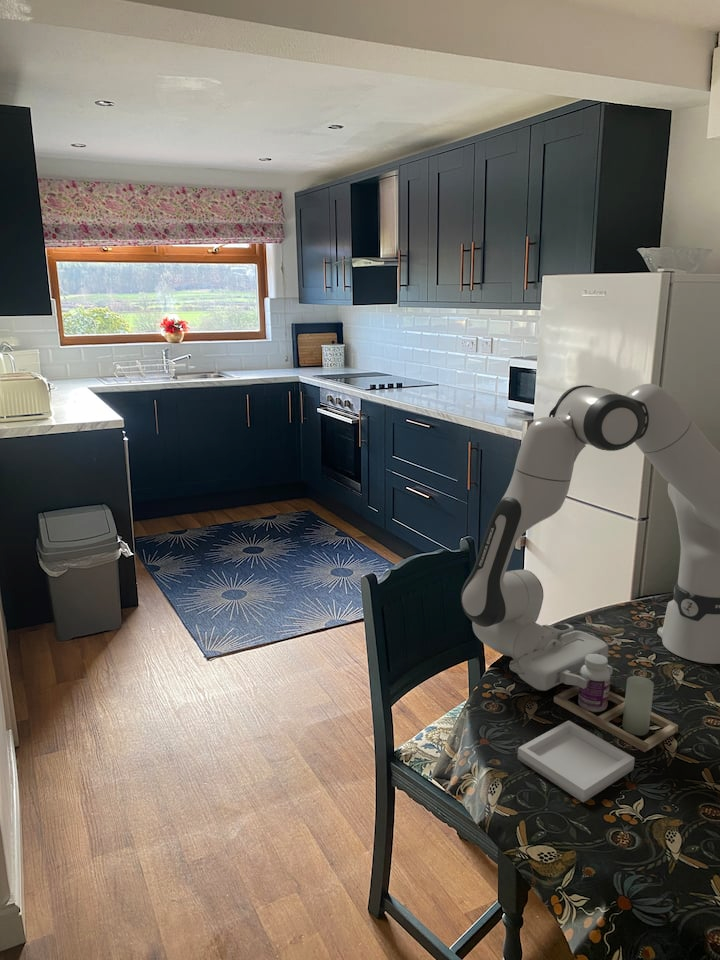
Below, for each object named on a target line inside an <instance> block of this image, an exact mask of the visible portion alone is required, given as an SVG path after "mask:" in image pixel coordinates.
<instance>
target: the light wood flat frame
mask: <svg viewBox="0 0 720 960" xmlns="http://www.w3.org/2000/svg"><path fill="white" fill-rule="evenodd" d="M578 694H579V686H575V685H573V686H572V687H570V688H568V689H566V690H564V691H562V692H560V693H558V694H556V695H554V696H553V702H554V704H556V705H559V706H560V707H562V708H563V709H565V710H568V711H569V712H571V713H573V714H575V715H576V716H578V717H581V718H582V719H584V720H585V721H586V722H589V723H590V724H593V725H594V726H596V727H598V728H600V729H602V730H603V731H606V733H609V734H611V735H613V736H614V737H616V738H618V739H619V740H622V741H623V742H625V743H626V744H629V745H631V746H633V747H635V748H636V749H638V750H640V751H641V752H644V753H647V751H650V750H651V749H652V748H654V747H656V746H657V745H659V744H661V742H663V741H665V740H667V739H668V738H669V737H671V736H672V735H675V733H678V729H679V724H676V723H675V722H672V721H671V720H669V719H666V718H664V717H662V716H660V715H658V714H656V713H655V712H653V711H651V716H650V722H652V723H654V724H656V725H657V726H659V727H661V728H662V729H660V730H658V731H657V732H656V733H654V734H653V735H650V736H649V737H648V738H646V739H645V740H643V739H640V738H638V736H637V737H636V735H634V734H631V733H628V732H627V731H625V730H624V729H623V728H620V727H619V726H616V725H614V724H613V723H611V722H610V721H612V720H614V719H615V718H616V719H617V717H619V716H621V715H623V714H624V704H625V697H623V696H621V695H619V694H617V693H614V691H613V692H612V691H610V690H609V695H608V701H610V702H612V703H614V704H617V705H616V706H615V707H613V708H611V709H609V710H608V711H606V712H603V713H602V714H600V715H596V714H594V713H593V712H591V711H588V710H585V709H583V708H582V707H581V706H580V705H579V704H578V705H577V704H576V703H574V702H572V701H570V699H571V698H574V697H576V696H578Z"/></svg>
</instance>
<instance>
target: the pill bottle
mask: <svg viewBox="0 0 720 960" xmlns="http://www.w3.org/2000/svg"><path fill="white" fill-rule="evenodd" d="M608 663H609V661H608V658H606V657H604V656H602V655H599V654H588V655H586V657H585V665H583V666H582V668H581V670H580V674H579V676H580V675H582V674H583V675H585V676H586V677H589V678H590V686H588V687H587V688H585V689H583V688H581V687H579V694H577V703H578V706H580V707H581V708H583V709H585V710H587V711H589V712H591V713H601V712H604V711H605V710H606V709H607V707H608V702H609V700H608V695H609V691H610V685H611V675H610V671H609V670H608V669H607V666H608V665H609V664H608Z"/></svg>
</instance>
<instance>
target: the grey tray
mask: <svg viewBox="0 0 720 960" xmlns="http://www.w3.org/2000/svg"><path fill="white" fill-rule="evenodd" d="M635 759H636V758H635V756H632V755H631V754H629V753H628V752H626V751H623V750H622V749H620V748H618V747H616V746H614V745H613V744H611V743H609V742H608V741H606V740H604V739H602V738H601V737H599V736H597V735H595V734H594V733H592V732H590V731H589V730H586V729H584V728H583V727H581V726H580V725H578V724H576V723H574V722H572V721H571V720H567V721H565V722H563V723H561V724H558V725H557V726H556V727H554V728H551V729H550V730H548V731H546V732H545V733H543V734H541V735H539V736H537V737H535V738H534V739H532V740H530V741H528V742H526V743H524V744H522V745H521V746H519V747H518V749H517V760H518V761H520V762H521V763H522V764H524V765H525V766H527V767H529V768H530V769H532V770H533V771H535V772H536V773H538V774H539V775H541V776H542V777H543V778H545V779H547V780H548V781H550V782H551V783H553V784H554V785H556V786H558V788H560V789H561V790H563V791H565V792H567V793H568V794H569V795H570V796H573V798H576V799H577V800H579V801H580V802H582V803H583V804H584V803H585V802H586V801H588V800H590V799H591V798H592V797H594V796H596V795H597V794H599V793H600V792H602V791H603V790H605V789H606V788H607V787H609V786H611V785H613V784H615V782H617V781H619V780H620V779H622V778H623V777H624V776H626V775H628V774H629V773H630V772H632V771H634V769H635V768H634V767H635Z"/></svg>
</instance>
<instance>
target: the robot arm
mask: <svg viewBox="0 0 720 960" xmlns="http://www.w3.org/2000/svg"><path fill="white" fill-rule="evenodd" d="M634 443H635V445H636V446H637V447H638V448H639V449H640V451H641V452H642V454H643V455H644V456H645V457H646V459H647V460H648V461H649V462H650V464H651V465H652V466H653V467H654V468H655V470H656V472H658V473H659V475H660V476H661V477H662V478H663V479H664V480H665V481H666V482H667V483H668V484H667V494H668V498H669V499H670V501H671V504H672V505H673V510H674V511H675V515H676V522H677V526H678V534H679V542H680V543H679V545H680V555H679V556H680V557H679V568H678V577H677V581H675V584H674V588H673V599H672V600H670V601H668V603H667V606H666V611H665V616H664V621H663V626H661V627H658V628H657V632H656V633H657V635H658V636H659V637H660V638H661V640H662V641H661V642H662V645H663V646H664V648H665V649H667V650H668V651H669V652H671V653H672V654H674V655H676V656H679V657H681V658H683V659H686V660H689V661H693V662H697V663H703V664H712V665H713V664H714V665H715V664H716V665H717V664H719V665H720V451H719V450H718V449H717V448H716V447H715V446H714V444H712V443H711V441H710V440H709V439H708V438H707V437H706V435H705V434H704V433H703V431H702V430H701V429H700V428H699V426H698V425H697V424H696V423H695V420H693V418H692V417H691V416H690V415H689V413H688V412H687V411H686V410H685V409H684V407H683V406H682V405H681V404H680V403H679V402H678V401H677V400H676V399H675V398H674V397H673V396H672V395H671V394H670V393H668V391H666V390H665V389H664V388H663V387H661V386H659V385H658V384H654V383H642V384H641V385H638V386H635V387H634V388H632V389H630V390H629V391H628V392H627V393H626V394H624V395H623V394H621V393H618V392H615V391H612V390H610V389H606V388H603V387H602V388H601V387H595V386H593V385H587V384H584V385H583V384H582V385H576V386H573V387H571V388H569V389H567V390H566V391H565V392H564V393H563V394H562V395H561V396H560V397H559V399H558V400H557V401H556V403H555V406H554V407H553V408H552V409H551V410H550V412H549V414H548V416H544V417H540V418H539V417H538V418H537V419H535V420H533V421H532V422H531V423H530V424H529V425H528V428H527V430H526V431H525V433H524V436H523V438H522V441H521V443H520V447H519V450H518V453H517V457H516V460H515V465H514V469H513V473H512V476H511V478H510V482H509V485H508V487H507V489H506V490H505V493H504V495H503V496H502V498H501V500H500V501H499V502H498V503H497V504H496V505H495V508H494V510H493V513H492V514H491V517H490V520H489V522H488V525H487V528H486V531H485V533H484V536H483V540H482V542H481V545H480V548H479V551H478V554H477V557H476V560H475V562H474V565H473V568H472V570H471V572H470V574H469V575H468V577H467V578H466V580H465V581H464V584H463V586H462V589H461V592H460V603H461V607H462V610H463V612H464V614H465V615H466V617H468V619H469V620H470V621H471V623H472V624H471V625H472V631H473V633H474V635H475V636H476V637H477V638H478V639H479V641H480V642H482V643H483V645H485V646H486V647H489V648H490V649H492V650H493V651H495V652H497V653H499V654H500V655H503V656H505V657H510V658H512V659H511V660H510V661H509V665H508V666H509V670H511V671H512V672H514V673H516V674H517V675H518V677H519V678H520V679H521V680H523V681H524V682H525V683H526V684H528V685H529V686H531V687H532V688H534V689H536V691H543V692H545V691H549V690H550V689H552V688H554V687H556V686H559V685H560V684H565V685H568V686H569V685H570V686H579V687H581V688H583V689H585V688H587V687H588V686H590V678H589V677H586V676H585V675H583V674H582V675H580V670H581V668H582V666H583V665H585V657H586V655H588V654H599V655H602V656H604V657H606V658H607V659H608V656H609V646H608V644H607V642H605V641H604V640H603V639H601V638H598V637H596V636H594V635H592V634H590V633H588V632H587V633H586V632H585V631H581V630H575V627H574V626H573V625H571V624H569V623H561V624H551V625H550V624H542V625H541V624H539V623H537V621H538V618H539V617H540V612H541V610H542V606H543V600H544V588H543V585H542V582H541V581H540V579H539V578H538V577H537V575H536V574H534V573H533V572H532V571H530V570H527V569H523V568H521V569H515V570H507V569H508V566H509V563H510V560H511V556H512V554H513V551H514V549H515V546H516V544H517V542H518V540H519V539H520V538H521V537H522V535H523V534H525V533H526V532H527V531H528V530H530V529H531V528H532V527H534V526H536V525H537V524H539V523H541V522H542V521H544V520H546V519H549V518H551V517H553V515H555V514H556V513H557V512H559V511H560V510H561V508H562V507H563V505H564V503H565V500H566V498H567V495H568V493H569V491H570V485H571V481H572V478H573V477H572V475H573V471H574V466H575V463H576V459H577V458H578V456H579V454H580V453H581V452H582V450H584V448H585V447H586V445H590V446H592V447H594V448H596V449H598V450H601V451H607V452H615V451H621V450H623V449H625V448H628V447H630V446H631V445H632V444H634ZM607 669H608V670H609V671H610V676H612V675H613V672H614V671H613V669H614V668H613V667H612V665H609V664H608V666H607Z"/></svg>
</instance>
